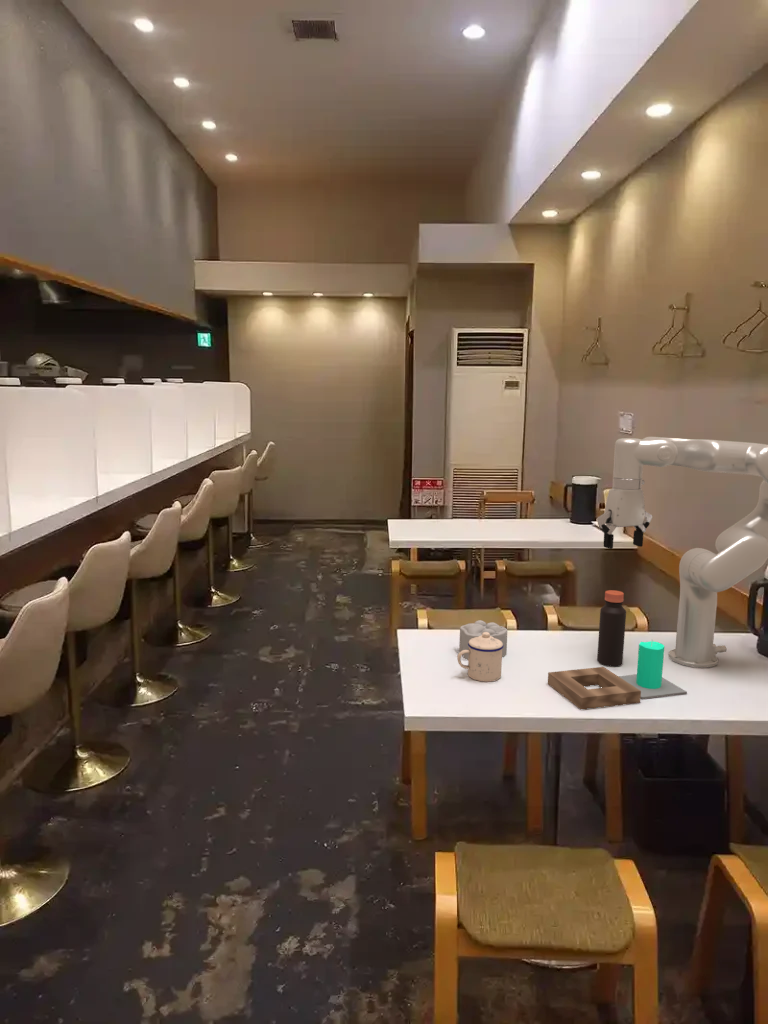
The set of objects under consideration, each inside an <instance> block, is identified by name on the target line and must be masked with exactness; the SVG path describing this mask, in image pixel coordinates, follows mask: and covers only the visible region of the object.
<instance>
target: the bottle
mask: <svg viewBox="0 0 768 1024" xmlns="http://www.w3.org/2000/svg"><path fill="white" fill-rule="evenodd" d="M624 595H625V593H624V592H623V591H621V590H616V589H615V590H614V589H613V590H611V589H609V590H605V592H604V602H605V604H604V605H603V606H601V608H600V611H599V626H598V639H597V641H598V642H597V653H596V654H597V656H596V657H597V658H596V661H597V663H599V664H600V665H602V666H606V667H614V668H615V667H620V666H622V665H623V662H624V661H623V660H624V651H625V650H624V648H625V647H624V646H625V633H626V622H627V621H626V619H627V611H626V609H625V608H624V607H623V604H624V600H625V599H624Z"/></svg>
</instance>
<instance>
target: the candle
mask: <svg viewBox="0 0 768 1024" xmlns="http://www.w3.org/2000/svg"><path fill="white" fill-rule="evenodd" d="M637 651H638V654H637V667H636V668H637V669H636V674H637V678H636V683H637V685H639V686H641V687H644V688H648V689H657V688H660V687H661V683H662V677H663V670H664V658H665V657H664V656H665V644H663V643H660V642H658V641H654V640H650V641H640V642H639V644H638V650H637Z"/></svg>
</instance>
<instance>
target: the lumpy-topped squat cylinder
mask: <svg viewBox="0 0 768 1024" xmlns="http://www.w3.org/2000/svg"><path fill="white" fill-rule="evenodd" d="M483 632H488V633H490V636H492V637H493V638H496V639H498V640H500V641H501V642H502V643H503V648H502V657H503V658H504V657H506V656H507V652H508V651H507V648H508V629H507V628H506V627H504V626H502V625H499V624H498V623H497V622H493V621H492V622H486V621H484V620H480V619H479V620H475V622H474V623H473V622H472V623H467V624H464V625H461V626H460V627H459V643H458V644H459V648H458V649H459V653H460V652H461V651H462V650H469V646H468V642H469V640H470V639H472V638H475V637H479V636H481V635H482V633H483ZM462 656H463V658H464V659H465V660H468V657H469V653H465V654H463V655H462Z"/></svg>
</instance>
